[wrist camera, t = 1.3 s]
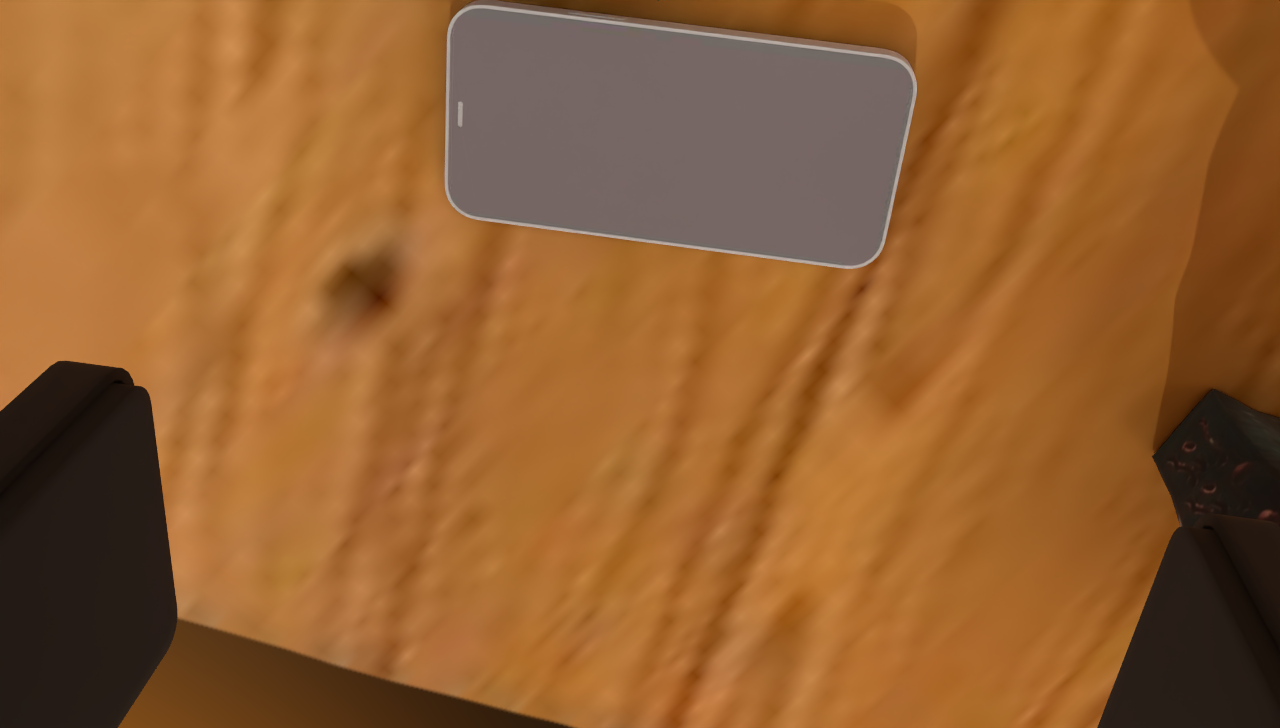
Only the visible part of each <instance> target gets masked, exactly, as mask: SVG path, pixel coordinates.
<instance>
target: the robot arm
mask: <svg viewBox="0 0 1280 728" xmlns="http://www.w3.org/2000/svg"><path fill="white" fill-rule="evenodd" d="M176 623H177V603H176V596H175V588H174V580H173V572H172V564H171V556H170V548H169V540H168V532H167V524H166V516H165V509H164V501H163V493H162V485H161V477H160V469H159V461H158V453H157V445H156V437H155V429H154V422H153V414H152V406H151V400H150V396H149V394H148V392H147V390H146V389H145V388H143V387H141V386H134V383H133V379H132V378H131V376H130V374H129V372H127V371H126V370H124V369H123V368H116V367H109V366H101V365H94V364H86V363H79V362H71V361H58V362H56V363H55V364H53V365H52V366H50V367H49V368H48V369H47V370H46V371H45V372H44V373H42V374H41V375H40V376H39V377H38V378H37V379H36V380H35V381H34V382H32V383H31V384H30V385H29V386H28V387H27V388H26V389H25V390H24V391H22V392H21V393H20V394H19V395H18V396H17V397H16V398H15V399H14V400H13V401H11V402H10V403H9V404H8V405H7V406H6V407H5V408H4V409H3V410H1V411H0V728H118V726H119V725H120V723H121V722H122V720H123V719H124V717H125V716H126V714H127V713H128V711H129V709H130V708H131V706H132V705H133V703H134V702H135V700H136V699H137V697H138V696H139V694H140V692H141V691H142V689H143V688H144V686H145V685H146V683H147V682H148V680H149V679H150V677H151V676H152V674H153V672H154V671H155V669H156V668H157V666H158V665H159V663H160V661H161V660H162V659H163V657H164V655H165V654H166V652H167V650H168V649H169V647H170V644H171V642H172V640H173V637H174V633H175V629H176ZM1098 728H1280V527H1279V525H1278V524H1277V523H1274V522H1271V521H1265V520H1258V519H1250V518H1243V517H1235V516H1228V515H1220V514H1213V513H1207V514H1204V515H1202V516H1201V517H1200V518H1199V519H1198V520H1197V521H1196V522H1195V524H1194V526H1193V527H1187V526H1182V527H1179V528H1178V529H1177V530H1176V531H1175V532H1174V533H1173V535H1172V537H1171V539H1170V541H1169V544H1168V547H1167V549H1166V552H1165V554H1164V557H1163V559H1162V562H1161V565H1160V567H1159V570H1158V572H1157V575H1156V578H1155V580H1154V583H1153V585H1152V588H1151V590H1150V593H1149V596H1148V598H1147V601H1146V603H1145V606H1144V609H1143V611H1142V614H1141V616H1140V619H1139V622H1138V624H1137V627H1136V629H1135V632H1134V634H1133V637H1132V640H1131V642H1130V645H1129V647H1128V650H1127V653H1126V655H1125V658H1124V660H1123V663H1122V665H1121V668H1120V671H1119V673H1118V676H1117V678H1116V681H1115V684H1114V686H1113V689H1112V691H1111V694H1110V696H1109V699H1108V702H1107V704H1106V707H1105V709H1104V712H1103V715H1102V717H1101V720H1100V722H1099V725H1098Z"/></svg>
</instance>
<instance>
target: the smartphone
mask: <svg viewBox="0 0 1280 728" xmlns="http://www.w3.org/2000/svg"><path fill="white" fill-rule="evenodd" d="M916 95H917V82H916V78H915V75H914V72H913V69H912V67H911V65H910V63H909V62H908V61H907V59H906V58H904V57H903V56H902V55H901V54H899V53H897V52H895V51H892V50H888V49H883V48H876V47H868V46H859V45H851V44H843V43H835V42H827V41H819V40H811V39H803V38H795V37H787V36H779V35H771V34H763V33H754V32H746V31H738V30H730V29H722V28H714V27H706V26H698V25H690V24H682V23H674V22H666V21H657V20H649V19H641V18H633V17H625V16H617V15H609V14H601V13H593V12H585V11H577V10H569V9H561V8H552V7H544V6H536V5H528V4H520V3H512V2H504V1H496V0H477V1H473V2H471V3H469V4H467V5H466V6H464V7H463V8H462V9H461V10H460V11H459V12H458V13H457V14H456V15H455V16H454V17H453V19H452V21H451V22H450V25H449V28H448V34H447V69H446V130H445V190H446V194H447V197H448V200H449V201H450V203H451V205H452V206H453V207H454V208H455V209H456V210H457V211H458V212H459V213H461V214H462V215H464V216H466V217H469V218H472V219H476V220H483V221H490V222H498V223H505V224H513V225H520V226H528V227H535V228H543V229H550V230H558V231H566V232H573V233H581V234H588V235H596V236H603V237H611V238H618V239H626V240H633V241H641V242H648V243H656V244H664V245H671V246H679V247H686V248H694V249H701V250H709V251H716V252H724V253H731V254H739V255H746V256H754V257H762V258H769V259H777V260H784V261H792V262H799V263H807V264H814V265H822V266H829V267H837V268H847V269H851V268H859V267H862V266H865V265H867V264H869V263H871V262H872V261H873V260H874V259H875V258H876V257H877V256H878V255H879V254H880V252H881V251H882V249H883V246H884V243H885V240H886V235H887V231H888V226H889V221H890V217H891V212H892V207H893V203H894V198H895V193H896V189H897V184H898V179H899V175H900V170H901V165H902V161H903V156H904V151H905V147H906V142H907V138H908V133H909V128H910V124H911V119H912V114H913V110H914V105H915V100H916Z"/></svg>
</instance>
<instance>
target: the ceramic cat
mask: <svg viewBox="0 0 1280 728" xmlns="http://www.w3.org/2000/svg"><path fill="white" fill-rule="evenodd" d="M1152 457H1153V459H1154V461H1155V463H1156V465H1157V467H1158V470H1159V472H1160V474H1161V476H1162V478H1163V480H1164V482H1165V485H1166V487H1167V489H1168V491H1169V493H1170V495H1171V498H1172V501H1173V504H1174V507H1175V510H1176V513H1177V517H1178V520H1179V523H1180V526H1181V527H1182V526H1187V527H1193V526H1194V524H1195V522H1196V521H1197V520H1198V519H1199V518H1200V517H1201V516H1202V515H1204V514H1207V513H1213V514H1220V515H1228V516H1235V517H1243V518H1250V519H1258V520H1265V521H1271V522H1274V523H1277V524H1278V525H1279V527H1280V418H1278V417H1275V416H1271V415H1268V414H1265V413H1261V412H1258V411H1255V410H1253V409H1251V408H1249V407H1247V406H1245V405H1244V404H1242V403H1241V402H1239V401H1237V400H1235V399H1234V398H1232V397H1230V396H1228V395H1226V394H1224V393H1222V392H1220V391H1218V390H1216V389H1212V390H1211V391H1210V392H1209V393H1208V394H1207V395H1206V396H1205V397H1204V398H1203V399H1202V400H1201V401H1200V402H1199V404H1198V405H1197V406H1196V407H1195V408H1194V409H1193V410H1192V411H1191V412H1190V414H1189V415H1188V416H1187V417H1186V418H1185V420H1184V421H1183V422H1182V423H1181V424H1180V425H1179V427H1178V428H1177V429H1176V430H1175V431H1174V433H1173V434H1172V435H1171V436H1170V437H1169V439H1168V440H1167V441H1166V442H1165V443H1164V444H1163V445H1162V446H1161V448H1160V449H1159V450H1158V451H1157V452H1156V453H1155V454H1154V455H1153V456H1152Z"/></svg>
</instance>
